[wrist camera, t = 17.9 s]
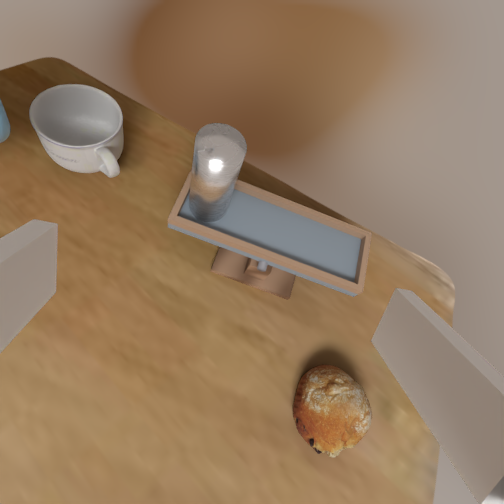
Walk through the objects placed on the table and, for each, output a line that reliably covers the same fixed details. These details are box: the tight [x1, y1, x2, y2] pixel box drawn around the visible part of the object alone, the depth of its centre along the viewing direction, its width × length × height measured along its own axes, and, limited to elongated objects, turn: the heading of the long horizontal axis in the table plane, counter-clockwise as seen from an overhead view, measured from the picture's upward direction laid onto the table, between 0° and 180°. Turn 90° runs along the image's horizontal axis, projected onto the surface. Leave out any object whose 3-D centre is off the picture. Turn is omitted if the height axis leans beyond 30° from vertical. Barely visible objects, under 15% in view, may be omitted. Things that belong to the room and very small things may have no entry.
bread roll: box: [293, 365, 372, 458], centre depth 42 cm, size 10×10×8 cm
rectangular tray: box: [168, 169, 372, 297], centre depth 43 cm, size 26×11×3 cm, turn 73°
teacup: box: [29, 84, 124, 178], centre depth 45 cm, size 14×11×8 cm
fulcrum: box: [211, 247, 296, 300], centre depth 47 cm, size 12×12×5 cm
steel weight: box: [189, 123, 247, 222], centre depth 37 cm, size 5×5×12 cm
